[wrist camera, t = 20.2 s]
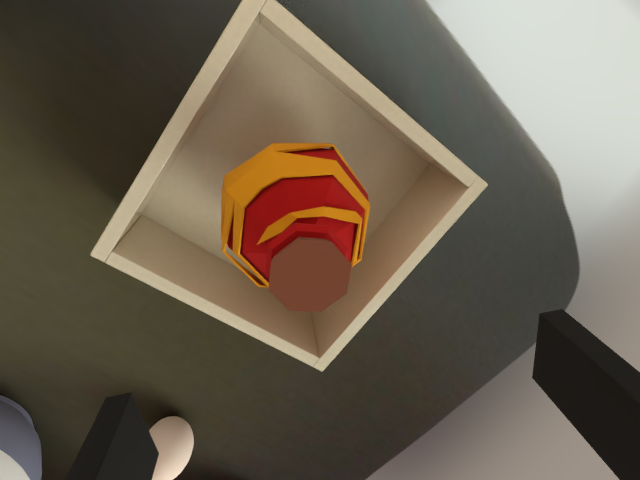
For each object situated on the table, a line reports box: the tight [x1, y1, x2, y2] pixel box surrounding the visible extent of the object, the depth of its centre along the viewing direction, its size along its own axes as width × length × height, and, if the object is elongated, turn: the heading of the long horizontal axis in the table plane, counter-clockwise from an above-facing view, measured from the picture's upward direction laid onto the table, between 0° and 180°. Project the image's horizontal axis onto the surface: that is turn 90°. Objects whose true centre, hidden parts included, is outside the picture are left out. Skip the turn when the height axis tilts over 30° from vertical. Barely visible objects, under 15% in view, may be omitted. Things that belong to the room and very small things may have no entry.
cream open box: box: [90, 0, 488, 371], centre depth 30 cm, size 19×19×8 cm
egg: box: [149, 416, 194, 480], centre depth 39 cm, size 5×5×7 cm
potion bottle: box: [221, 143, 370, 312], centre depth 25 cm, size 10×10×15 cm
